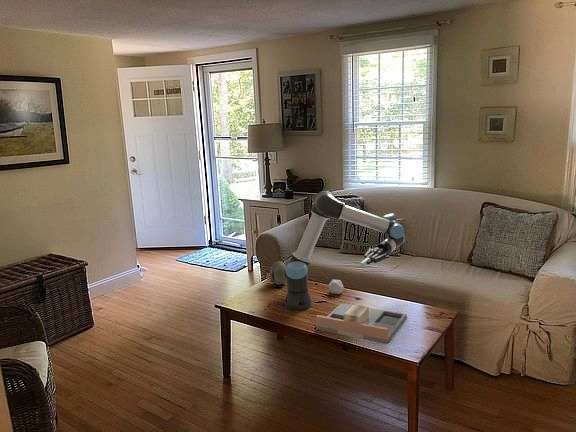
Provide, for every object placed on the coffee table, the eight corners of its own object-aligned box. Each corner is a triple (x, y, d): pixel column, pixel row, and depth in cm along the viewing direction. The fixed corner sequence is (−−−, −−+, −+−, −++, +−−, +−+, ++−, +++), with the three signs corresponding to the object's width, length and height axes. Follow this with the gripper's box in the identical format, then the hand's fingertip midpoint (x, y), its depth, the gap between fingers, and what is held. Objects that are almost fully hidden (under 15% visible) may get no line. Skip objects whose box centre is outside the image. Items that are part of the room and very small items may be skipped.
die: (345, 292, 272) (338, 277, 275) (345, 290, 264) (338, 275, 267) (333, 298, 272) (326, 283, 275) (333, 296, 263) (325, 281, 266)
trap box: (316, 329, 225) (315, 316, 224) (341, 306, 250) (341, 294, 249) (387, 344, 207) (387, 329, 205) (406, 317, 232) (406, 304, 230)
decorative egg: (292, 283, 290) (291, 260, 287) (280, 288, 282) (278, 265, 278) (279, 279, 298) (277, 257, 295) (266, 285, 289) (265, 262, 286)
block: (344, 329, 219) (343, 314, 217) (353, 319, 229) (353, 304, 227) (360, 332, 215) (359, 316, 213) (369, 322, 225) (368, 307, 223)
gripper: (396, 256, 252) (372, 274, 236) (376, 250, 260) (351, 267, 245) (396, 244, 249) (372, 262, 234) (376, 238, 257) (351, 255, 242)
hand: (361, 265), depth 239 cm, fingers closed
